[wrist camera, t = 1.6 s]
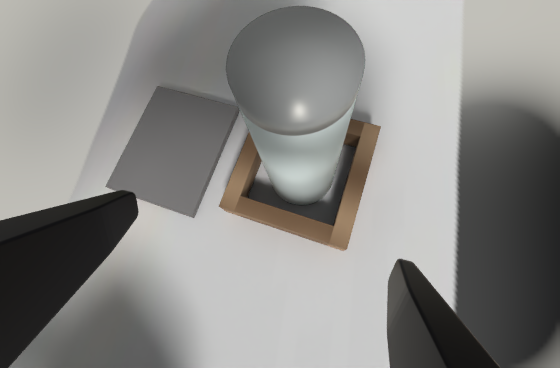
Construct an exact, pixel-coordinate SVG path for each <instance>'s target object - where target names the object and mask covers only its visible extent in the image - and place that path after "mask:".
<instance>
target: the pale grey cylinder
mask: <svg viewBox="0 0 560 368" xmlns="http://www.w3.org/2000/svg"><path fill="white" fill-rule="evenodd" d="M364 68H365V53H364V48H363V45H362V42H361V40H360V38H359V36H358V35H357V33H356V32H355V30H354V29H353V28H352V27H351V26H350V25H349V24H348V23H347V22H346V21H345V20H343V19H342V18H340V17H339V16H337V15H335V14H333V13H331V12H329V11H326V10H323V9H319V8H315V7H308V6H293V7H285V8H280V9H277V10H273V11H271V12H268V13H266V14H264V15H262V16H260V17H258V18H256V19H255V20H253V21H252V22H251V23H249V24H248V25H247V26H246V27H245V28H244V29H243V30H242V31H241V32H240V33H239V34H238V36H237V37H236V38H235V40H234V42H233V44H232V45H231V48H230V50H229V53H228V57H227V63H226V73H227V79H228V83H229V85H230V88H231V90H232V92H233V95H234V97H235V99H236V102H237V104H238V106H239V109H240V111H241V113H242V116H243V118H244V120H245V123H246V125H247V127H248V130H249V132H250V134H251V137H252V139H253V141H254V144H255V146H256V148H257V151H258V153H259V155H260V158H261V160H262V162H263V165H264V167H265V169H266V172H267V174H268V176H269V179H270V181H271V183H272V186H273V188H274V190H275V192H276V193H277V194H278V195H279V196H280V197H281V198H282V199H283V200H285V201H287V202H289V203H292V204H295V205H308V204H312V203H314V202H317V201H318V200H320V199H321V198H323V197H324V196H325V195H326V194H327V192H328V191H329V189H330V187H331V185H332V182H333V178H334V175H335V171H336V168H337V164H338V161H339V157H340V154H341V150H342V147H343V143H344V140H345V136H346V133H347V129H348V126H349V122H350V119H351V115H352V112H353V108H354V105H355V101H356V98H357V94H358V91H359V87H360V84H361V80H362V77H363V73H364Z"/></svg>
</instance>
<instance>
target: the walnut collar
mask: <svg viewBox="0 0 560 368" xmlns="http://www.w3.org/2000/svg"><path fill="white" fill-rule="evenodd" d="M380 128H381V126H377V125H373V124H369V123H365V122H361V121H357V120H353V119H350V122H349V126H348V129H347V133H346V136H345V140H344V143H343V144H345V145H349V146H353V147H356V150H355V153H354V157H353V160H352V163H351V167H350V170H349V173H348V177H347V180H346V184H345V187H344V190H343V194H342V197H341V201H340V204H339V207H338V211H337V214H336V218H335V221H334V224H333V226H332V225H329V224H326V223H323V222H320V221H316V220H313V219H310V218H307V217H304V216H301V215H298V214H295V213H292V212H289V211H286V210H282V209H279V208H276V207H273V206H270V205H267V204H264V203H261V202H258V201H255V200H252V199H248V195H249V192H250V190H251V187H252V185H253V182H254V179H255V177H256V174H257V171H258V169H259V166H260V164H261V161H262V160H261V158H260V155H259V153H258V151H257V148H256V146H255V144H254V141H253V139H252V137H251V134H250V132H249V133H248V136H247V138H246V141H245V143H244V146H243V148H242V150H241V153H240V155H239V158H238V160H237V163H236V165H235V168H234V170H233V173H232V175H231V178H230V180H229V182H228V185H227V187H226V190H225V192H224V195H223V197H222V200H221V202H220V205H219V207H221V208H222V209H224V210H225V211H226V212H229V213H232V214H235V215H238V216H241V217H244V218H247V219H250V220H253V221H256V222H259V223H262V224H265V225H268V226H271V227H274V228H277V229H280V230H283V231H286V232H289V233H292V234H295V235H298V236H300V237H303V238H306V239H309V240H312V241H315V242H318V243H321V244H324V245H327V246H330V247H333V248H336V249H339V250H342V251H344V250H346V249H347V247H348V243H349V239H350V236H351V232H352V229H353V225H354V221H355V218H356V214H357V211H358V207H359V203H360V200H361V196H362V193H363V189H364V185H365V182H366V178H367V174H368V171H369V167H370V164H371V160H372V156H373V153H374V149H375V146H376V142H377V138H378V135H379V131H380Z"/></svg>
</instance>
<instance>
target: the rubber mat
mask: <svg viewBox="0 0 560 368" xmlns="http://www.w3.org/2000/svg"><path fill="white" fill-rule="evenodd" d="M238 113H239V108H238V107H236V106H232V105H228V104H224V103H221V102H217V101H213V100H209V99H205V98H202V97H198V96H194V95H190V94H186V93H182V92H179V91H175V90H171V89H167V88H163V87H160V86H157V88H156V90H155V92H154V94H153V96H152V98H151V100H150V101H149V103H148V105H147V107H146V109H145V111H144V113H143V115H142V117H141V119H140V121H139V123H138V125H137V127H136V128H135V130H134V132H133V134H132V136H131V138H130V140H129V142H128V144H127V146H126V148H125V150H124V152H123V154H122V155H121V157H120V159H119V161H118V163H117V165H116V167H115V169H114V171H113V173H112V175H111V177H110V179H109V180H108V182H107V184H106V186H105V187H107V188H110V189H113V190H115V191H119V190H126V191H130V192H133V193H134V194H135V195H136V198H138V199H141V200H144V201H147V202H150V203H153V204H155V205H158V206H161V207H164V208H167V209H170V210H173V211H175V212H178V213H181V214H184V215H187V216H190V217H193V218H194V217H195V215H196V212H197V210H198V208H199V205H200V203H201V201H202V198H203V196H204V194H205V191H206V189H207V186H208V184H209V182H210V179H211V177H212V175H213V172H214V170H215V168H216V165H217V163H218V160H219V158H220V156H221V153H222V151H223V149H224V146H225V144H226V142H227V139H228V137H229V135H230V132H231V130H232V127H233V125H234V123H235V120H236V118H237V116H238Z"/></svg>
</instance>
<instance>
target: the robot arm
mask: <svg viewBox="0 0 560 368" xmlns="http://www.w3.org/2000/svg"><path fill="white" fill-rule="evenodd" d="M137 216H138V206H137V200H136V195H135V194H134V193H133V192H130V191H126V190H119V191H115V192H112V193H108V194H104V195H100V196H96V197H92V198H88V199H84V200H80V201H76V202H72V203H68V204H64V205H60V206H56V207H53V208H48V209H45V210H41V211H37V212H32V213H28V214H25V215H21V216H17V217H13V218H9V219H5V220H1V221H0V368H9V366H10V365H11V364H12V363H13V362H14V361H15V360H16V359H17V357H18V356H19V355H20V354H21V353H22V352H23V351H24V350H25V349H26V347H27V346H28V345H29V344H30V343H31V342H32V341H33V340H34V338H35V337H36V336H37V335H38V334H39V333H40V332H41V331H42V329H43V328H44V327H45V326H46V325H47V324H48V323H49V322H50V321H51V319H52V318H53V317H54V316H55V315H56V314H57V313H58V312H59V310H60V309H61V308H62V307H63V306H64V305H65V304H66V303H67V302H68V300H69V299H70V298H71V297H72V296H73V295H74V294H75V293H76V291H77V290H78V289H79V288H80V287H81V286H82V285H83V284H84V282H85V281H86V280H87V279H88V278H89V277H90V276H91V275H92V274H93V272H94V271H95V270H96V269H97V268H98V267H99V266H100V265H101V263H102V262H103V261H104V260H105V259H106V258H107V257H108V256H109V254H110V253H111V252H112V251H113V249H114V248H115V247H116V245H117V244H118V243H119V241H120V240H121V239H122V237H123V236H124V235H125V233H126V232H127V230H128V229H129V228H130V226H131V225H132V224H133V222H134V221H135V220H136V218H137ZM387 340H388V351H389V361H390V368H500V367H499V365H498V364H497V363H496V362H495V361H494V359H493V358H492V357H491V356H490V355H489V353H488V352H487V351H486V350H485V349H484V347H483V346H482V345H481V344H480V343H479V341H478V340H477V339H476V338H475V337H474V335H473V334H472V333H471V332H470V330H469V329H468V328H467V327H466V326H465V324H464V323H463V322H462V321H461V320H460V318H459V317H458V316H457V315H456V314H455V312H454V311H453V310H452V309H451V307H450V306H449V305H448V304H447V303H446V301H445V300H444V299H443V298H442V297H441V295H440V294H439V293H438V292H437V291H436V289H435V288H434V287H433V286H432V285H431V283H430V282H429V281H428V280H427V279H426V277H425V276H424V275H423V274H422V272H421V271H420V270H419V269H418V268H417V266H416V265H415V264H414V263H413V262H411V261H407V260H403V259H398V260H397V261H396V263H395V265H394V268H393V270H392V272H391V274H390V277H389V280H388V302H387Z"/></svg>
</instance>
